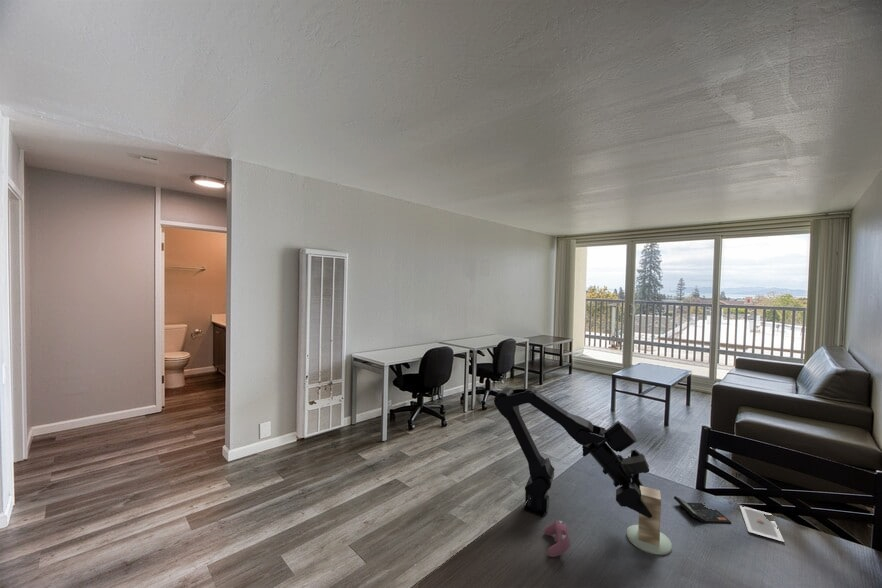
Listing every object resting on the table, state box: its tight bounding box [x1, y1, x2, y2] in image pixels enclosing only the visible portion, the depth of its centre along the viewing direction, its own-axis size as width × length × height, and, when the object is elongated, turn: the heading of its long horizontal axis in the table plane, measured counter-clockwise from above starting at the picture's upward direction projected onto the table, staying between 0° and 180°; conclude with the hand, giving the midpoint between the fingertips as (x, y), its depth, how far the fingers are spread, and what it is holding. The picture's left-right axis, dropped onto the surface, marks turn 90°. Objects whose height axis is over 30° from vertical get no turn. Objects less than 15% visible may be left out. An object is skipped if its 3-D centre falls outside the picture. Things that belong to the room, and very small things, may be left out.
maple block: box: [637, 485, 662, 546], centre depth 102 cm, size 5×5×13 cm
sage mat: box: [626, 524, 673, 556], centre depth 102 cm, size 11×11×1 cm
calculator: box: [673, 495, 732, 525], centre depth 115 cm, size 9×12×3 cm
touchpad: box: [739, 505, 785, 543], centre depth 110 cm, size 8×15×2 cm, turn 148°
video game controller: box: [543, 519, 571, 558], centre depth 99 cm, size 10×5×7 cm, turn 170°
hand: (649, 507), depth 102 cm, fingers open, 9 cm apart
